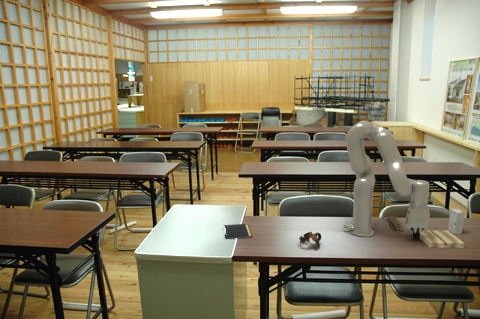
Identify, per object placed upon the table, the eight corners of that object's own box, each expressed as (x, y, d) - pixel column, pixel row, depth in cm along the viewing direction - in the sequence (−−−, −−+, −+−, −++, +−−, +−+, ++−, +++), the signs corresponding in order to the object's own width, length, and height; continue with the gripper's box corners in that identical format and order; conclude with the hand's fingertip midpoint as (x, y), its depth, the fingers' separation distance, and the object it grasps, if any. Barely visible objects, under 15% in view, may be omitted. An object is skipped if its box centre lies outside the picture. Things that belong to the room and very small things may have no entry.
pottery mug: (313, 253, 169) (304, 238, 169) (301, 255, 177) (293, 240, 177) (329, 241, 175) (321, 226, 175) (317, 243, 183) (309, 228, 183)
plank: (430, 247, 172) (430, 243, 172) (416, 234, 188) (416, 230, 187) (447, 247, 171) (447, 243, 171) (431, 234, 187) (432, 230, 187)
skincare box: (447, 229, 193) (449, 208, 191) (455, 229, 193) (457, 208, 191) (454, 234, 187) (456, 212, 185) (462, 234, 187) (465, 212, 185)
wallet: (222, 223, 204) (249, 222, 205) (222, 226, 205) (249, 225, 206) (224, 237, 185) (252, 236, 186) (224, 240, 185) (252, 239, 186)
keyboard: (406, 233, 191) (406, 230, 190) (388, 232, 192) (388, 229, 192) (396, 219, 212) (396, 216, 211) (380, 218, 213) (381, 215, 213)
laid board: (445, 247, 172) (445, 242, 171) (429, 234, 187) (430, 230, 187) (464, 248, 171) (464, 243, 170) (447, 234, 187) (447, 230, 186)
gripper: (406, 207, 173) (403, 242, 177) (438, 207, 172) (434, 242, 176) (400, 202, 180) (397, 236, 184) (430, 202, 180) (427, 236, 183)
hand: (415, 239), depth 180 cm, fingers closed
